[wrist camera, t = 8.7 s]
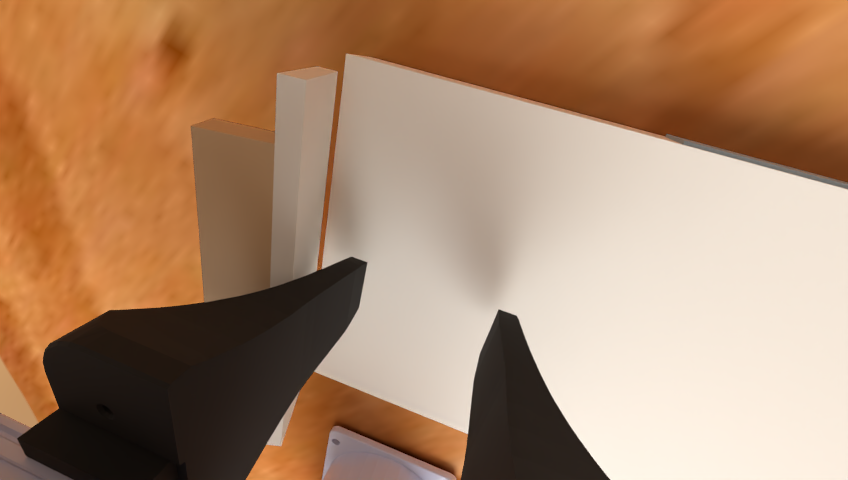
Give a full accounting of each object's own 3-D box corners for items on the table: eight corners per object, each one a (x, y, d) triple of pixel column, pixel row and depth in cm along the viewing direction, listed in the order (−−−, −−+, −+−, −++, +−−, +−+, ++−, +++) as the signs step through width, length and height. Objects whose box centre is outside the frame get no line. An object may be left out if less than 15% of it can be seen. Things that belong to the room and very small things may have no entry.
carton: (767, 514, 16) (796, 567, 14) (330, 343, 19) (310, 370, 17) (1114, 253, 10) (1245, 292, 8) (371, 53, 12) (346, 49, 11)
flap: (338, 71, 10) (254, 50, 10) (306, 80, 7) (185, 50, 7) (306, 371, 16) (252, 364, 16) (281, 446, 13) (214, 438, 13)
